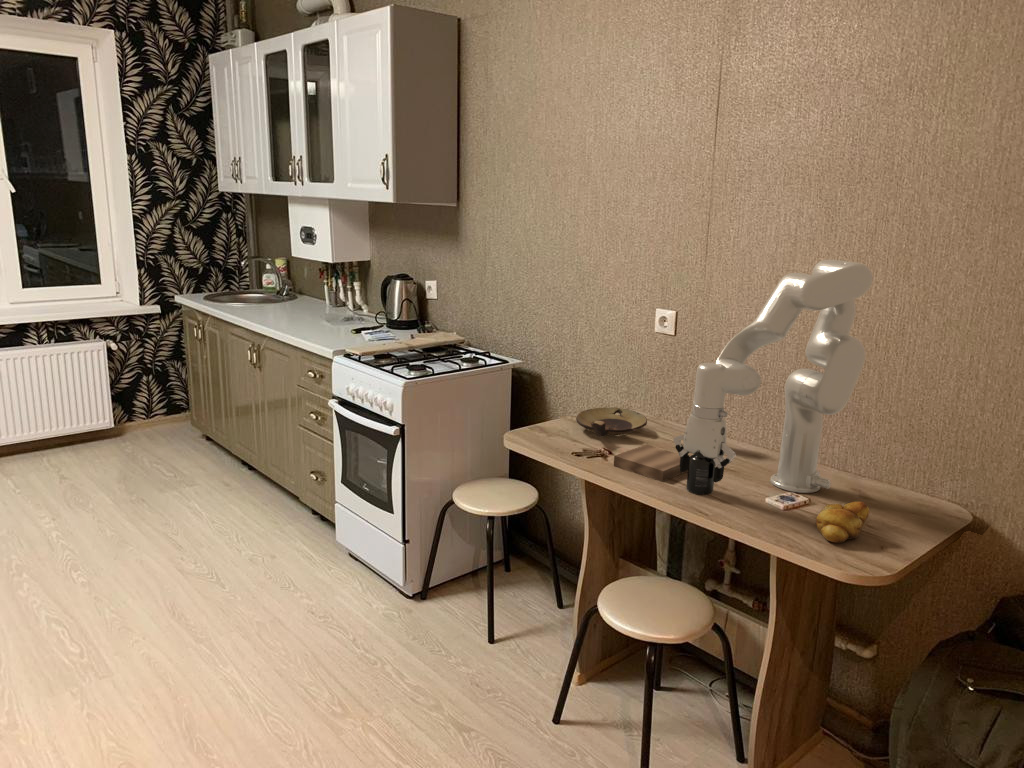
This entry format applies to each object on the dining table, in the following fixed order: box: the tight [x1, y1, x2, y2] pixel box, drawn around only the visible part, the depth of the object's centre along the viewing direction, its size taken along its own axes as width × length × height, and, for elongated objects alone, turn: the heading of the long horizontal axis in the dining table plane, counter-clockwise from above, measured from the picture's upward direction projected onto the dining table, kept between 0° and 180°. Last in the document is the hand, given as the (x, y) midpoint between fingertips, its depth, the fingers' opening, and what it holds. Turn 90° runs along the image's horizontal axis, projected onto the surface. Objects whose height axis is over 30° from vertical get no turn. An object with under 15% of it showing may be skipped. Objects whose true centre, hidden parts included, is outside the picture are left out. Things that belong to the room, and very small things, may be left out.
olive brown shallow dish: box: [575, 406, 648, 438], centre depth 241 cm, size 22×30×8 cm
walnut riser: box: [613, 444, 688, 482], centre depth 211 cm, size 16×16×3 cm
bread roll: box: [815, 501, 870, 544], centre depth 170 cm, size 13×10×8 cm
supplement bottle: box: [686, 450, 717, 496], centre depth 193 cm, size 7×7×12 cm
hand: (700, 475), depth 194 cm, fingers open, 9 cm apart
